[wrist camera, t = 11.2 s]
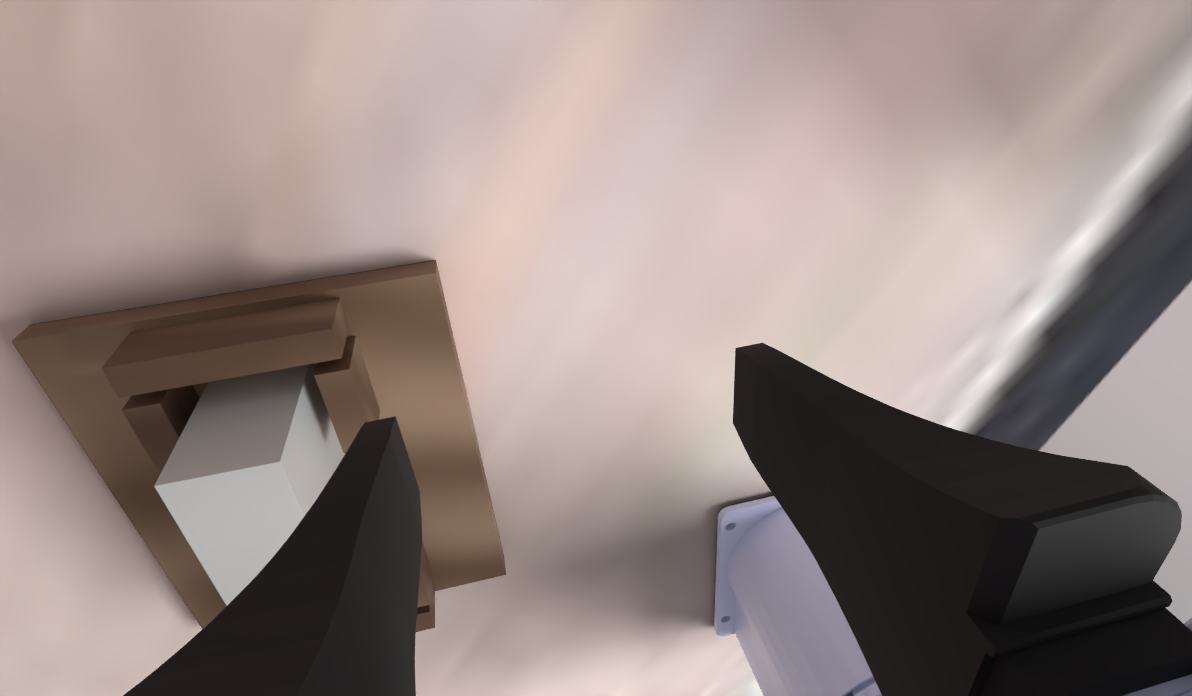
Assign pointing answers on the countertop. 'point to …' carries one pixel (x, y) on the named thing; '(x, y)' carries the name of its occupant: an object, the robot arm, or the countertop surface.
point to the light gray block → (249, 470)
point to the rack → (266, 343)
